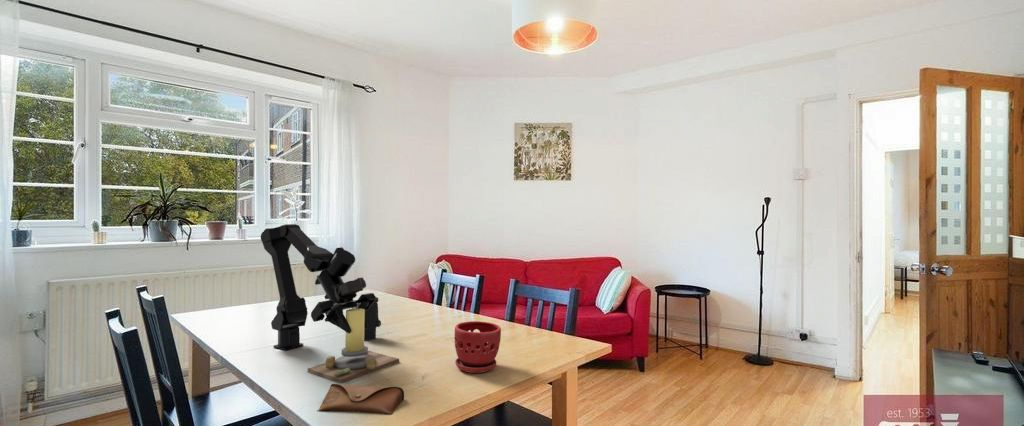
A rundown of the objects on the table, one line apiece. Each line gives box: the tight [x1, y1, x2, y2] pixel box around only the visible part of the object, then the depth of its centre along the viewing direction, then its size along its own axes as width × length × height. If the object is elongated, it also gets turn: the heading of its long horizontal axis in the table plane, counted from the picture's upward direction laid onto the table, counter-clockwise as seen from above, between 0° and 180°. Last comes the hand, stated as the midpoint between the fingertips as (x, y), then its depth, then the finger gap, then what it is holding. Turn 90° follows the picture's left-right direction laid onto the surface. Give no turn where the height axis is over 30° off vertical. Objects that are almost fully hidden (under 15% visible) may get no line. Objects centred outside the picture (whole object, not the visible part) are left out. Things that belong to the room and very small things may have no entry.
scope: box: [364, 296, 382, 341], centre depth 160 cm, size 8×14×10 cm
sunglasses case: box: [316, 383, 405, 415], centre depth 106 cm, size 18×7×7 cm
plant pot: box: [454, 320, 502, 374], centre depth 131 cm, size 13×13×12 cm
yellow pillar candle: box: [341, 308, 369, 357], centre depth 130 cm, size 7×7×12 cm
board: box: [307, 346, 400, 384], centre depth 130 cm, size 15×20×4 cm
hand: (358, 330), depth 130 cm, fingers closed on yellow pillar candle, 5 cm apart
